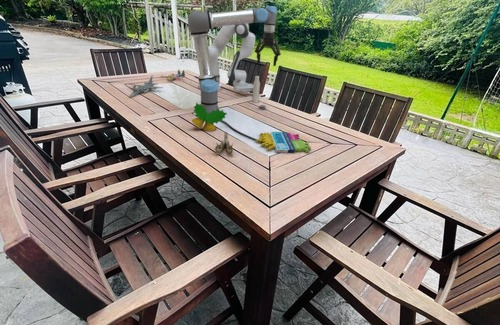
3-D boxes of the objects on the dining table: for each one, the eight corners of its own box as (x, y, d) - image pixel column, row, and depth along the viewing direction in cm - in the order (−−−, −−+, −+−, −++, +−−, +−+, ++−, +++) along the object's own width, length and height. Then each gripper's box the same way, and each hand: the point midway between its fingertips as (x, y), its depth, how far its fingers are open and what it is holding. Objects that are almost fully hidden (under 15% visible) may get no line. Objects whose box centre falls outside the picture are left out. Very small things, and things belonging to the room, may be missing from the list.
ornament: (218, 133, 171) (224, 110, 169) (221, 134, 163) (227, 111, 161) (186, 125, 162) (192, 101, 160) (189, 126, 155) (195, 101, 153)
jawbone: (234, 135, 144) (233, 125, 135) (233, 160, 138) (232, 151, 129) (217, 135, 144) (216, 125, 135) (216, 160, 138) (214, 150, 129)
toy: (193, 71, 287) (180, 75, 262) (193, 77, 291) (181, 82, 265) (170, 68, 292) (155, 72, 266) (170, 75, 296) (156, 79, 270)
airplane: (123, 87, 237) (120, 75, 231) (158, 84, 250) (157, 74, 245) (127, 99, 208) (125, 87, 203) (167, 96, 221) (166, 84, 216)
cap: (258, 109, 206) (259, 106, 205) (261, 107, 210) (261, 104, 209) (263, 110, 205) (264, 107, 203) (266, 108, 208) (266, 105, 207)
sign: (313, 150, 142) (258, 149, 139) (312, 153, 143) (258, 152, 140) (301, 132, 164) (254, 130, 161) (301, 134, 165) (254, 133, 162)
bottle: (254, 100, 227) (256, 75, 217) (259, 101, 224) (261, 76, 214) (250, 101, 223) (252, 76, 213) (255, 102, 220) (257, 77, 210)
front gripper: (287, 33, 178) (283, 66, 188) (256, 30, 189) (254, 61, 199) (282, 33, 172) (279, 67, 182) (251, 30, 183) (249, 62, 194)
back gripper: (232, 84, 234) (239, 88, 223) (253, 83, 242) (260, 86, 232) (232, 91, 237) (239, 95, 226) (252, 90, 245) (259, 94, 235)
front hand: (266, 64), depth 191 cm, fingers open, 13 cm apart
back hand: (249, 91), depth 229 cm, fingers open, 8 cm apart
